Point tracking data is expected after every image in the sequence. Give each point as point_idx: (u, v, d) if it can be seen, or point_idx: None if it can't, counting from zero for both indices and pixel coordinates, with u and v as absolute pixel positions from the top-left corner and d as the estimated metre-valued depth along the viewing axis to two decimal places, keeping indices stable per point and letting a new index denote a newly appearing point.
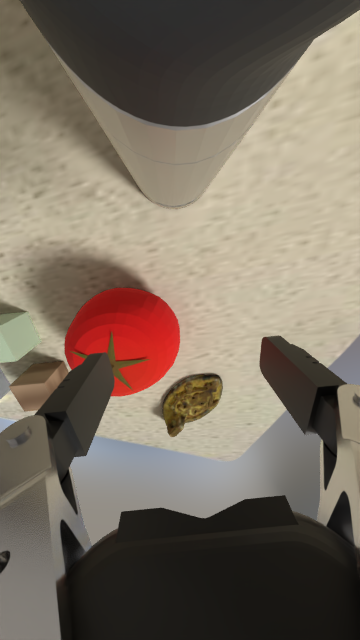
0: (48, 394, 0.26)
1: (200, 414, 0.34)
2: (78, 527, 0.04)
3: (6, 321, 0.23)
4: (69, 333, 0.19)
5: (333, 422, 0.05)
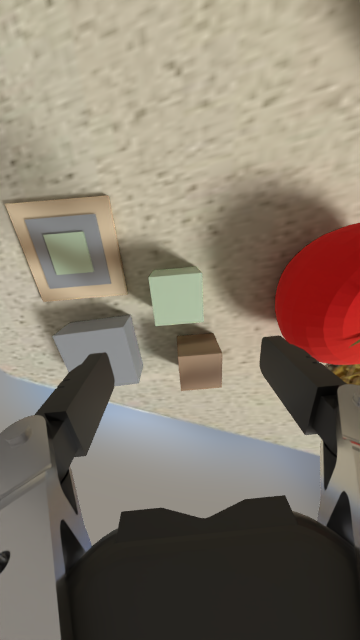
0: (219, 368, 0.21)
1: None
2: (78, 527, 0.04)
3: (196, 270, 0.18)
4: (340, 270, 0.14)
5: (333, 422, 0.05)
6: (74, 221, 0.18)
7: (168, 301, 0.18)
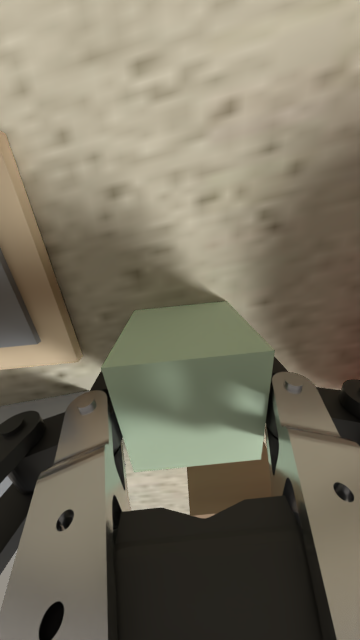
0: None
1: None
2: (124, 503, 0.05)
3: (242, 327, 0.07)
4: None
5: (269, 405, 0.06)
6: None
7: (168, 423, 0.06)
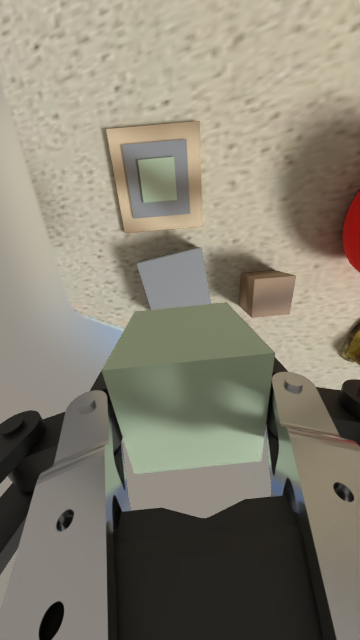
0: (290, 293, 0.23)
1: None
2: (125, 503, 0.05)
3: (242, 329, 0.07)
4: None
5: (269, 404, 0.06)
6: (167, 147, 0.20)
7: (168, 425, 0.06)
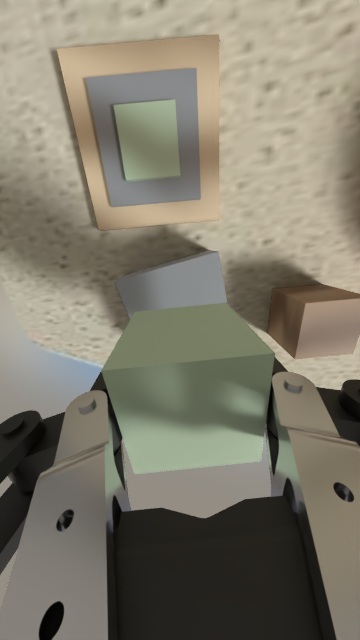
0: (359, 323, 0.14)
1: None
2: (125, 503, 0.05)
3: (242, 329, 0.07)
4: None
5: (269, 405, 0.06)
6: (163, 82, 0.12)
7: (169, 425, 0.06)
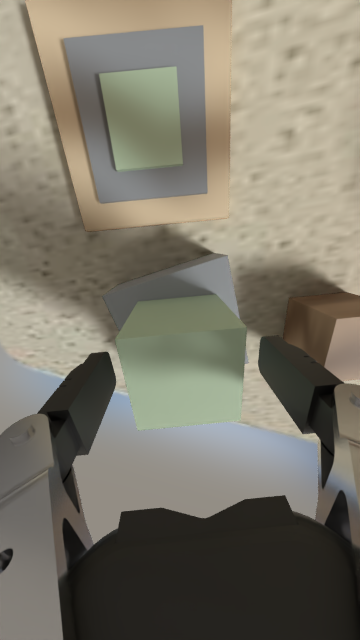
0: None
1: None
2: (80, 526, 0.04)
3: (225, 312, 0.08)
4: None
5: (330, 421, 0.05)
6: (161, 44, 0.09)
7: (166, 387, 0.08)
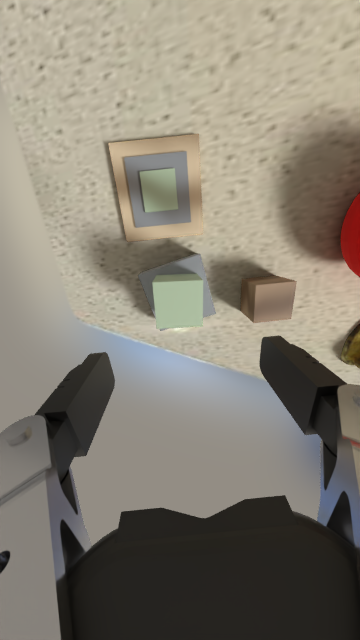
0: (292, 298, 0.23)
1: None
2: (78, 527, 0.04)
3: (197, 277, 0.19)
4: None
5: (333, 422, 0.05)
6: (167, 159, 0.20)
7: (170, 306, 0.19)
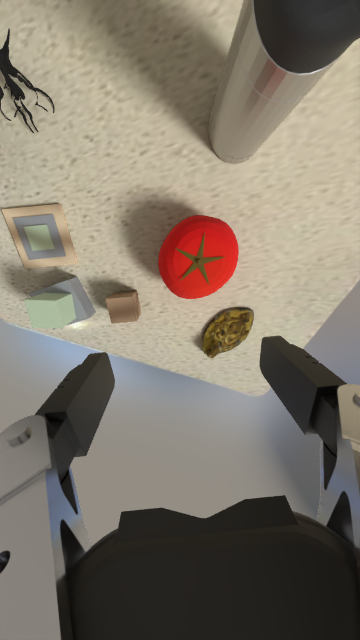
0: (132, 307, 0.34)
1: (233, 343, 0.42)
2: (78, 527, 0.04)
3: (59, 298, 0.31)
4: (170, 240, 0.27)
5: (333, 422, 0.05)
6: (41, 218, 0.32)
7: (38, 314, 0.30)
